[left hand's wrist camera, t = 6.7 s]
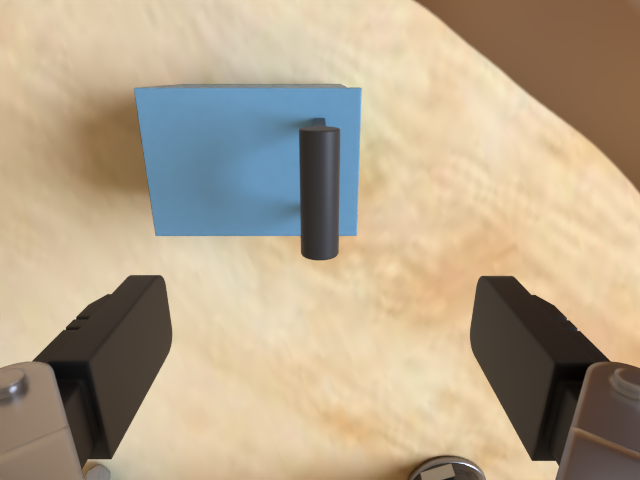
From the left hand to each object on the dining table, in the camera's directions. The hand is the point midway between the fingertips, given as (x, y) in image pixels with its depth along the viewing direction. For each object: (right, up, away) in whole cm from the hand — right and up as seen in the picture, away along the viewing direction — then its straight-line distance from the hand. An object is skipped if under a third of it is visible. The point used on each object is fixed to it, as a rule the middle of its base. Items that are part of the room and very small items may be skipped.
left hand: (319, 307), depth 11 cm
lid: (-4, +7, +18) cm, 19 cm away
